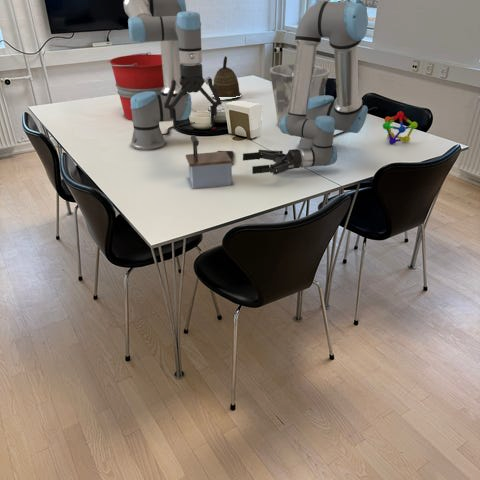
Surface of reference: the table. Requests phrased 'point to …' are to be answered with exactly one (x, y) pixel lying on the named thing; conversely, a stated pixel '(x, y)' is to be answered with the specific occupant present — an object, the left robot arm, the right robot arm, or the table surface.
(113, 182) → the table surface
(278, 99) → the bucket
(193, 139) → the lid
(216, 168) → the chest
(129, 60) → the bucket
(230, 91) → the bell
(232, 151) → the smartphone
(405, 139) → the educational toy
